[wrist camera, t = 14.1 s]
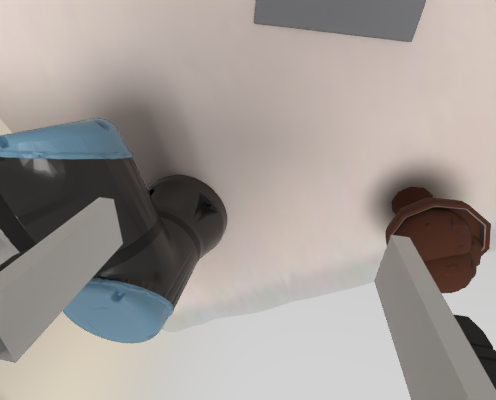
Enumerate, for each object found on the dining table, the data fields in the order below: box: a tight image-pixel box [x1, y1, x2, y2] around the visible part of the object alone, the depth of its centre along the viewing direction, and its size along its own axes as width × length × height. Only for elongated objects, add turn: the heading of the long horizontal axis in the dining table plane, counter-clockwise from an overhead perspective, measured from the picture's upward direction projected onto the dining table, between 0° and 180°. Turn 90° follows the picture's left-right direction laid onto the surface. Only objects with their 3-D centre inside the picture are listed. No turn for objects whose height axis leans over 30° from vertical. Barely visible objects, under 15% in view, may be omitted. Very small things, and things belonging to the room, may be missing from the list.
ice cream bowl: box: [386, 187, 491, 293], centre depth 35 cm, size 11×11×15 cm
